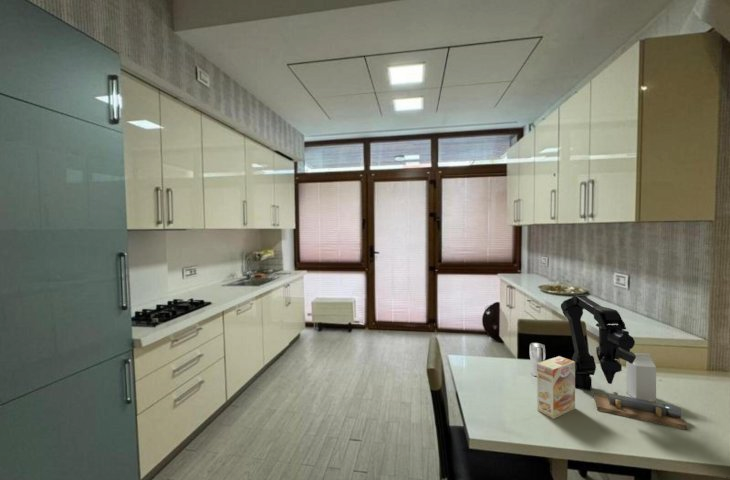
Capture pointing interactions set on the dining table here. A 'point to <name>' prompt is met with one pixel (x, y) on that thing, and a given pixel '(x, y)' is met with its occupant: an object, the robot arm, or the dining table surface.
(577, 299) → the robot arm
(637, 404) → the grey ball-topped bar
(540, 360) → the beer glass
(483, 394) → the dining table surface
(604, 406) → the tool rest
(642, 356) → the milk carton
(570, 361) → the coffeecake box
